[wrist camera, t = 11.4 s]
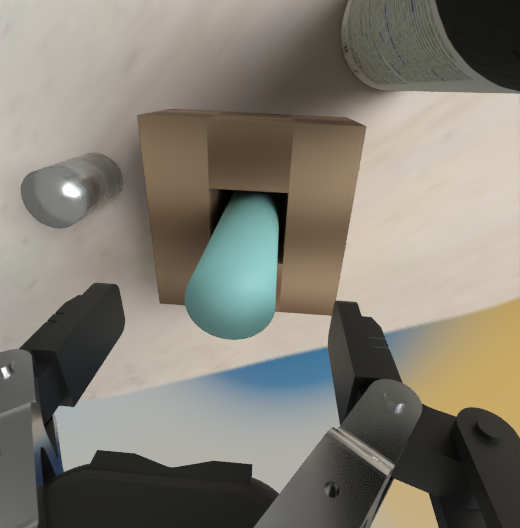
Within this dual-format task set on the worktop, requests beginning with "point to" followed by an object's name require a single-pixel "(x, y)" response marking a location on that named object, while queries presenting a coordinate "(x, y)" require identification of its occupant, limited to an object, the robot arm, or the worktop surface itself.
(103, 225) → the worktop surface
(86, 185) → the short pin
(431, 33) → the spray can
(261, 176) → the socket block
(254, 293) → the long pin
